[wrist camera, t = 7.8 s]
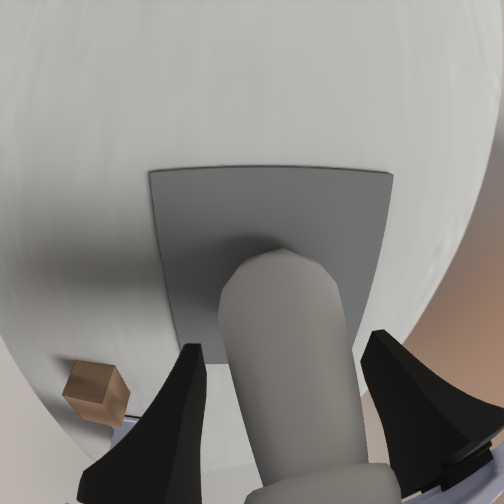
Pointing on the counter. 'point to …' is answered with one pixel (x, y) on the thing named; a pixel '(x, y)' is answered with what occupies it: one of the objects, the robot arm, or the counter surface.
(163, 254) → the rubber mat
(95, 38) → the counter surface
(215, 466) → the counter surface
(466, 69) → the counter surface
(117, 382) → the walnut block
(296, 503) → the salt shaker
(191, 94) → the counter surface
